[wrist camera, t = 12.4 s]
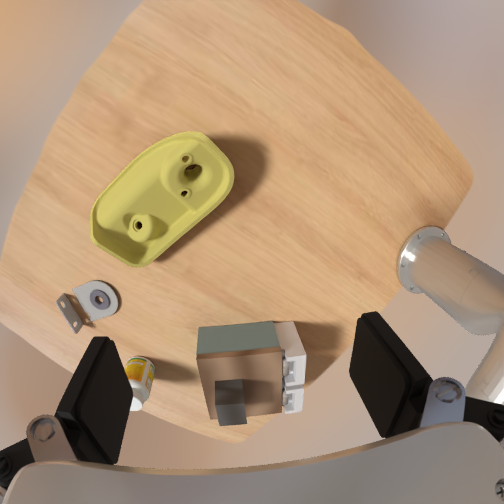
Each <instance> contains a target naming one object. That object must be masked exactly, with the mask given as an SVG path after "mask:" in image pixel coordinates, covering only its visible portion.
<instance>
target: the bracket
mask: <svg viewBox="0 0 504 504" xmlns="http://www.w3.org/2000/svg"><path fill="white" fill-rule="evenodd" d="M72 290H73V292H74V294H76V295H77V299H78V301H79V303H80V304H81V306H82V308H83V310H84V311H85V312H87V313H88V314H89V316H90V319H89V320H90V321H91V322H92V321H95V320H98V319H101V318H104V317H107V316H110V315H112V314H114V313H115V311H116V310H117V308H118V298H117V296H116V294H115V292H114V290H113V289H112V288H111V287H110V286H109V285H107V284H106V283H104V282H102V281H97V280H94V281H90V282H88V283H85V284H83V285H81V286H79V287H76V288H74V289H72ZM96 296H100V297H101V298H102V299H103V302H102V303H101V302H99V301H98V300H97V299H96ZM60 301H62V303H63V305H64V308H63V307H62V306H61V304H60ZM56 305H57V306H58V308H59V310H60V311H61V313H62V314H63V316H64V318H65V319H66V321H67V322H68V324H69V325H70V327H71V328H72V330H73V331H74V333H75V334H77V333H78V332H79V330H80V329H81V328H82V326H83V325H84V324H83V323H82V321H81V319H80V317H79V316H78V314H77V313H76V311H75V310H74V308H73V306H72V305H71V303H70V301H69V300H68V298H67V296H66V295H65V294H64V293H63V294H62V295H61V296H60V297H59V299H58V300H57V301H56ZM74 322H76V324H77V325H76V327H74V326H73V323H74Z"/></svg>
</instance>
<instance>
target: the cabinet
mask: <svg viewBox="0 0 504 504" xmlns="http://www.w3.org/2000/svg"><path fill="white" fill-rule="evenodd" d="M280 346H281V349H282V357H284V356H285V357H286V360H287V362H289V375H287V376H283V375H282V389H283V388H285V392H286V394H289V397H288V404H287V405H283V404H282V406H284V410H285V413H286V414H289V413H295V412H301V411H302V406H303V395H304V387H303V384H304V382H305V369H306V352H305V350H304V347H303V345H302V342H301V340H300V337H299V335H298V332H297V330H296V327H295V325H294V322H293V321H289V322H280V323H273V321H267V322H257V323H247V324H236V325H225V326H212V327H199V331H198V342H197V354H207V353H221V352H233V351H244V350H254V349H263V348H272V347H280ZM197 354H196V355H197Z"/></svg>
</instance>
